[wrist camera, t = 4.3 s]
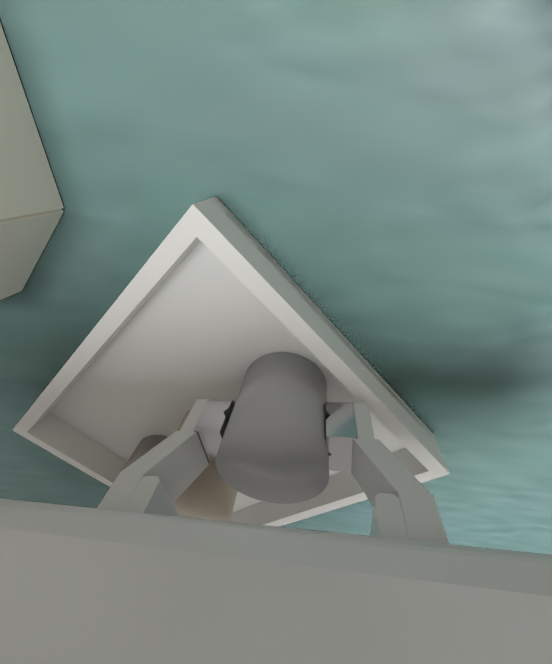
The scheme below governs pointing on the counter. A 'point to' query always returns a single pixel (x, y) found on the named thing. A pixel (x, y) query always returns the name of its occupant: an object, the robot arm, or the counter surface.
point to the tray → (210, 362)
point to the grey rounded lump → (277, 432)
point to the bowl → (22, 183)
